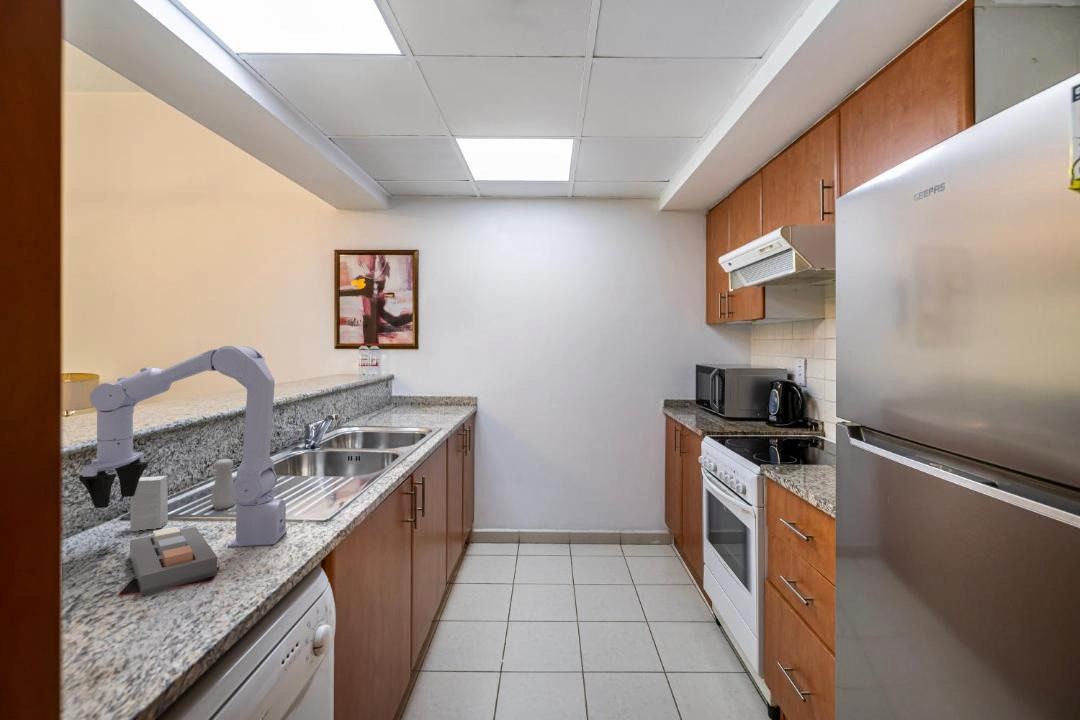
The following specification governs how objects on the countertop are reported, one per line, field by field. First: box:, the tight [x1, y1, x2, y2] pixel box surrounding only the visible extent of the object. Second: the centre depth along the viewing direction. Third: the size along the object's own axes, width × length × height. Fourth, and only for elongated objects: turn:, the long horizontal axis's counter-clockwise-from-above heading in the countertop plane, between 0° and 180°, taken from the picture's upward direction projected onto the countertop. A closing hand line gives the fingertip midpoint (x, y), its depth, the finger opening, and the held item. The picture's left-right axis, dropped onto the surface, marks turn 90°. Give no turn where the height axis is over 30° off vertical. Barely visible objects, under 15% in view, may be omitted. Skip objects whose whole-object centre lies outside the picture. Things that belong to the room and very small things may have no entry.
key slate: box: [158, 535, 186, 555], centre depth 92 cm, size 4×4×2 cm
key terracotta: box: [162, 545, 193, 567], centre depth 87 cm, size 4×4×2 cm
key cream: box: [152, 525, 181, 545], centre depth 97 cm, size 4×4×2 cm
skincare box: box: [129, 475, 169, 532], centre depth 112 cm, size 6×4×12 cm
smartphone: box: [117, 566, 221, 598], centre depth 86 cm, size 7×1×14 cm
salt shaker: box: [210, 458, 236, 510], centre depth 128 cm, size 6×6×13 cm
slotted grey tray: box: [129, 526, 218, 597], centre depth 92 cm, size 22×11×4 cm, turn 45°
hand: (115, 501), depth 100 cm, fingers open, 7 cm apart
